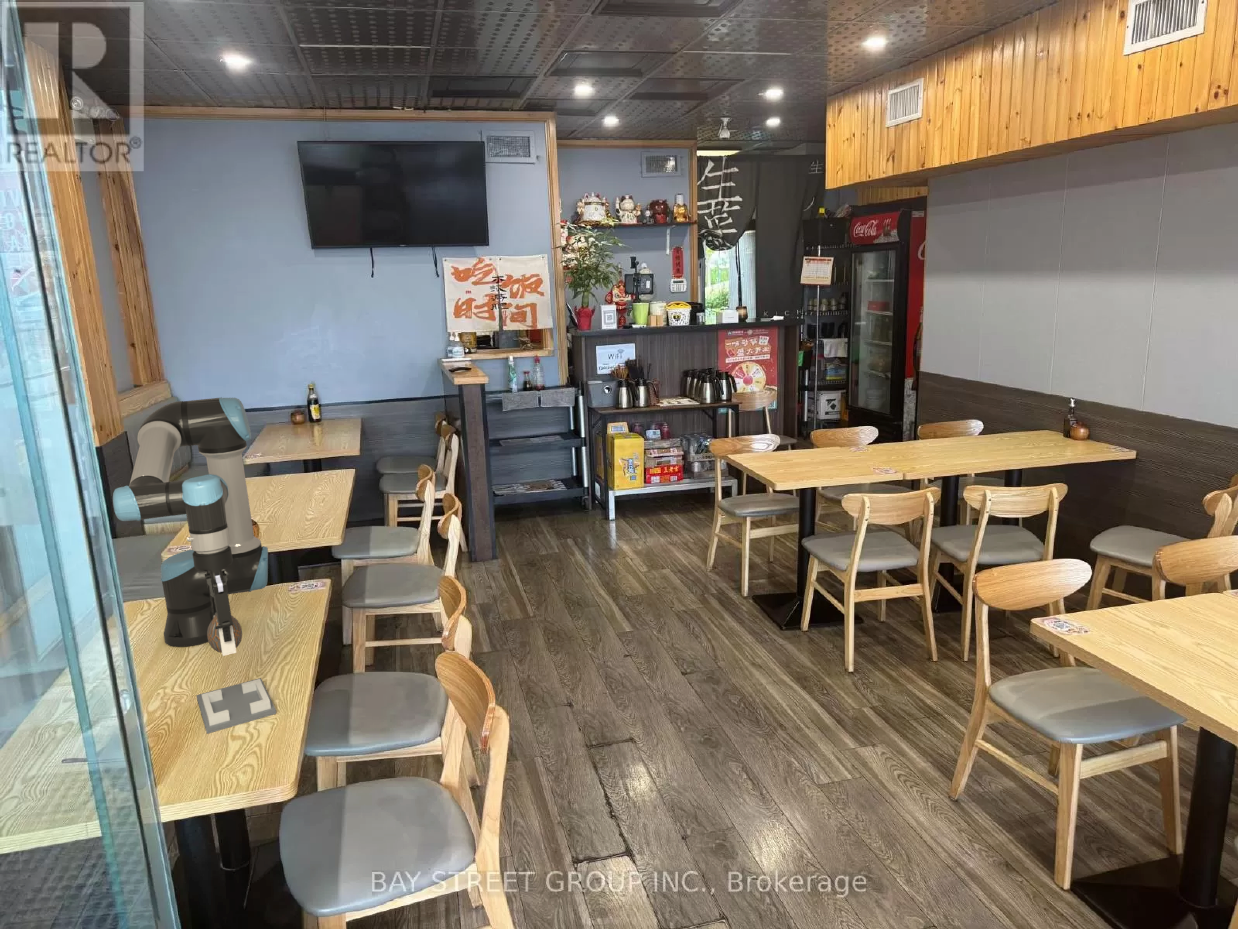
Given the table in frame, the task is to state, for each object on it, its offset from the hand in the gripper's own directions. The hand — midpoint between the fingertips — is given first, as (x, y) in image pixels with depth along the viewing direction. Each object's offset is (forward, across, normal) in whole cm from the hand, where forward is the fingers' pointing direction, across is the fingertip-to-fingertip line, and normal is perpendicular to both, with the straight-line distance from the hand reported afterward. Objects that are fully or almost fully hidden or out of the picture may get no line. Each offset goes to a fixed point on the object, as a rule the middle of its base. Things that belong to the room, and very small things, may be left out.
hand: (226, 647), depth 184 cm
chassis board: (+15, -2, 0) cm, 15 cm away
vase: (+1, 0, 0) cm, 1 cm away
